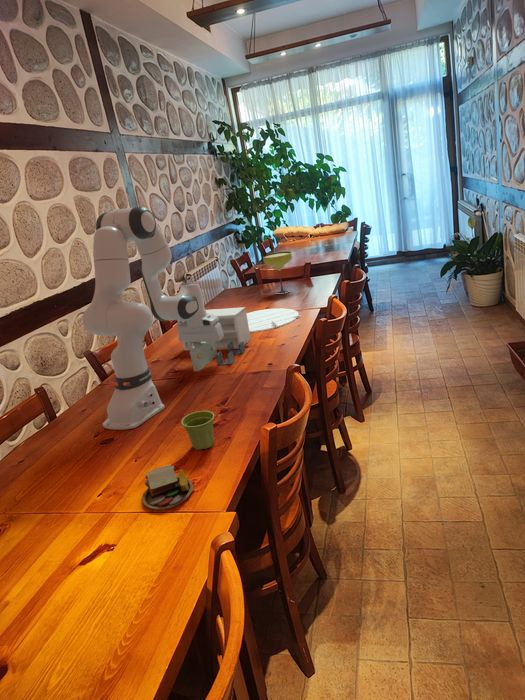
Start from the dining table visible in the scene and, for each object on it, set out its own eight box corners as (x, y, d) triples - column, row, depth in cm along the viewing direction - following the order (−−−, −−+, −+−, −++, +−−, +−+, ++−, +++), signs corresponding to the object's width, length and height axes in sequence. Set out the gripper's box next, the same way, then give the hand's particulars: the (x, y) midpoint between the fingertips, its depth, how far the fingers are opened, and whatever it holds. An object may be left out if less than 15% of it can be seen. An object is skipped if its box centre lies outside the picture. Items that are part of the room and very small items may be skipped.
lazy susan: (312, 319, 239) (311, 313, 238) (241, 339, 227) (239, 332, 226) (280, 306, 275) (279, 300, 274) (217, 322, 263) (216, 317, 262)
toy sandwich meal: (143, 519, 109) (138, 502, 107) (143, 486, 121) (138, 471, 120) (196, 503, 111) (192, 486, 110) (190, 473, 124) (186, 458, 122)
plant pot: (204, 433, 143) (198, 408, 140) (226, 440, 137) (220, 413, 134) (181, 449, 136) (174, 422, 133) (203, 456, 130) (197, 429, 127)
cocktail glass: (283, 288, 318) (278, 251, 310) (302, 290, 304) (296, 251, 296) (263, 295, 308) (257, 257, 300) (281, 297, 294) (275, 257, 286)
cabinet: (241, 348, 213) (235, 314, 207) (184, 350, 224) (177, 318, 219) (250, 339, 223) (245, 307, 218) (196, 341, 234) (189, 311, 229)
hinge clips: (230, 364, 195) (228, 355, 194) (217, 365, 197) (215, 355, 196) (245, 350, 209) (243, 341, 208) (232, 351, 211) (230, 342, 210)
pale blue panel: (201, 371, 194) (197, 351, 191) (194, 371, 195) (189, 351, 192) (219, 355, 210) (215, 336, 207) (212, 355, 211) (208, 336, 208)
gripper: (172, 323, 198) (179, 354, 202) (215, 321, 190) (221, 352, 194) (179, 319, 203) (186, 348, 208) (221, 316, 195) (227, 347, 200)
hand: (203, 350), depth 201 cm, fingers open, 8 cm apart
